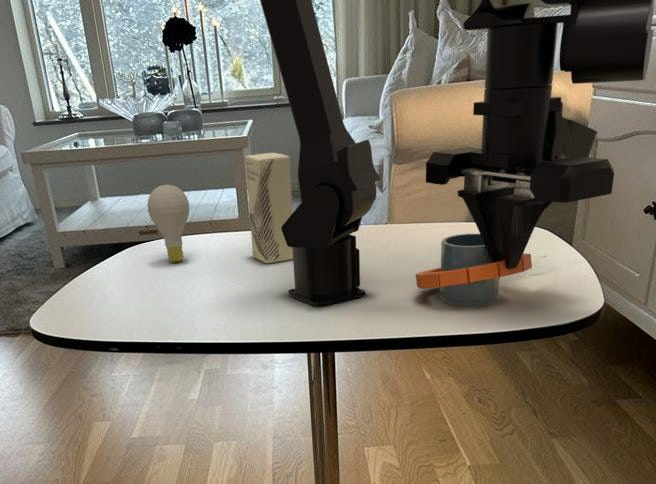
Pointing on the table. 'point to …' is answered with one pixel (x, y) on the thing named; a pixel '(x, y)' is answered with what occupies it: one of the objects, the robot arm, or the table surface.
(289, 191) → the box
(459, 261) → the cup
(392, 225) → the table surface
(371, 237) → the table surface
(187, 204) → the light bulb
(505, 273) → the ring
